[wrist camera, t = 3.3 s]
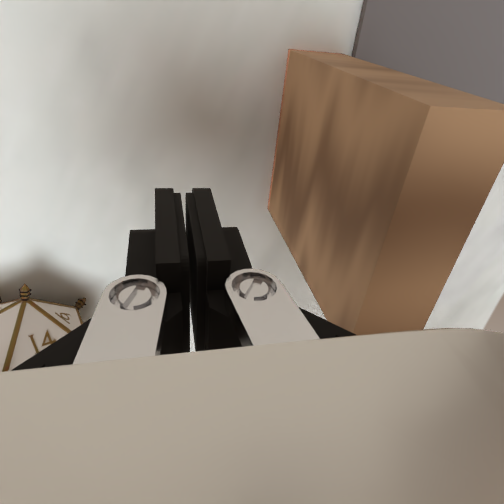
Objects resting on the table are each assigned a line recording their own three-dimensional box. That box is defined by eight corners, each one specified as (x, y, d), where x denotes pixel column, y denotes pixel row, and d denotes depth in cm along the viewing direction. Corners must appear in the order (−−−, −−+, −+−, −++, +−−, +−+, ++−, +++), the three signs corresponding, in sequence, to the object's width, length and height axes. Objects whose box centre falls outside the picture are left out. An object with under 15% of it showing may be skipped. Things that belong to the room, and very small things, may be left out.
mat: (448, 256, 30) (451, 259, 29) (306, 263, 27) (308, 267, 27) (577, -22, 20) (584, -22, 20) (375, -55, 17) (380, -56, 17)
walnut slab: (311, 207, 24) (414, 347, 15) (267, 208, 24) (345, 354, 14) (342, 54, 20) (528, 111, 10) (288, 48, 19) (430, 106, 9)
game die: (40, 257, 26) (-7, 247, 17) (135, 331, 28) (140, 360, 19) (-65, 361, 24) (-188, 417, 15) (46, 435, 26) (0, 528, 16)
